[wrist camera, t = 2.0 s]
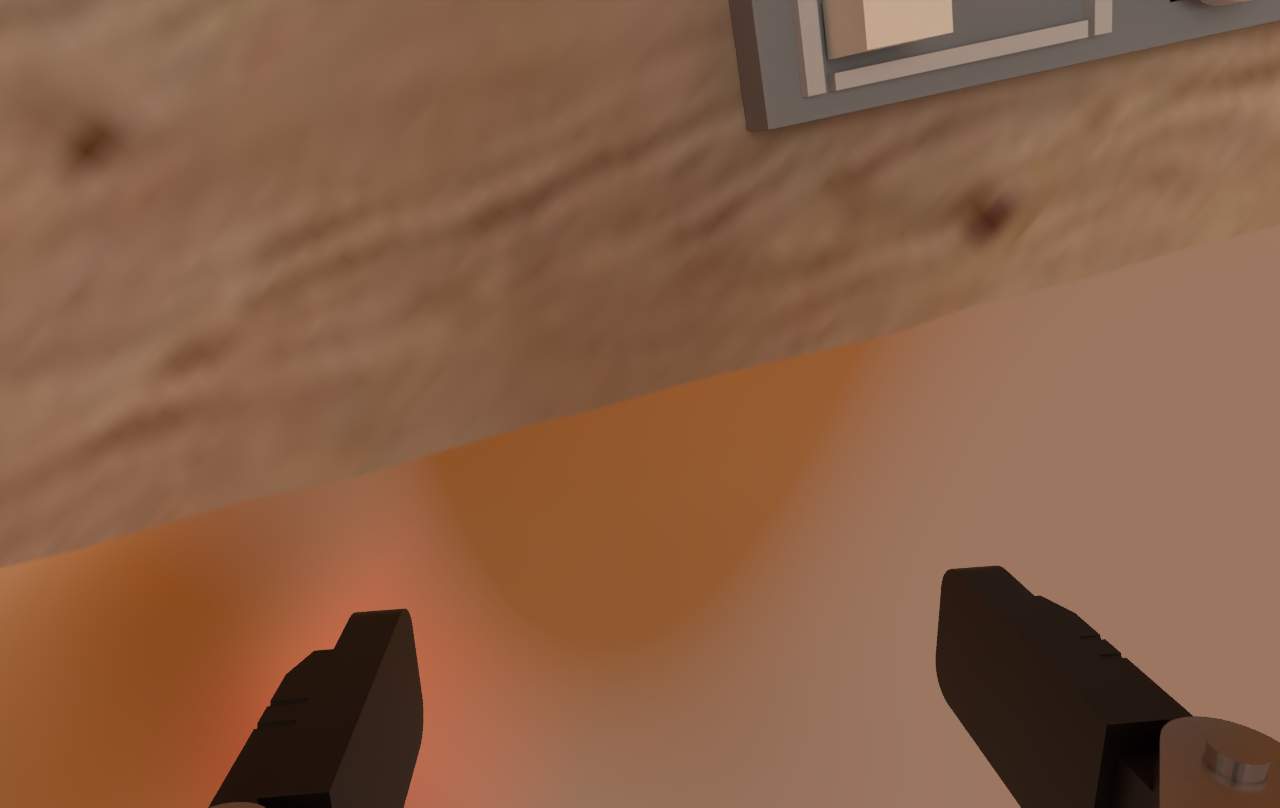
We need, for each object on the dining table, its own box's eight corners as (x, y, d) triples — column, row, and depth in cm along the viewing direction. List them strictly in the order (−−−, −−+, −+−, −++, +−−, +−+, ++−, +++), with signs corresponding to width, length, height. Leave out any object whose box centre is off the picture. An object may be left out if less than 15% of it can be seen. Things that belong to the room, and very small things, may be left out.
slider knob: (822, 0, 28) (861, -18, 25) (900, -16, 28) (949, -36, 25) (828, 60, 29) (867, 50, 26) (904, 44, 29) (953, 32, 26)
